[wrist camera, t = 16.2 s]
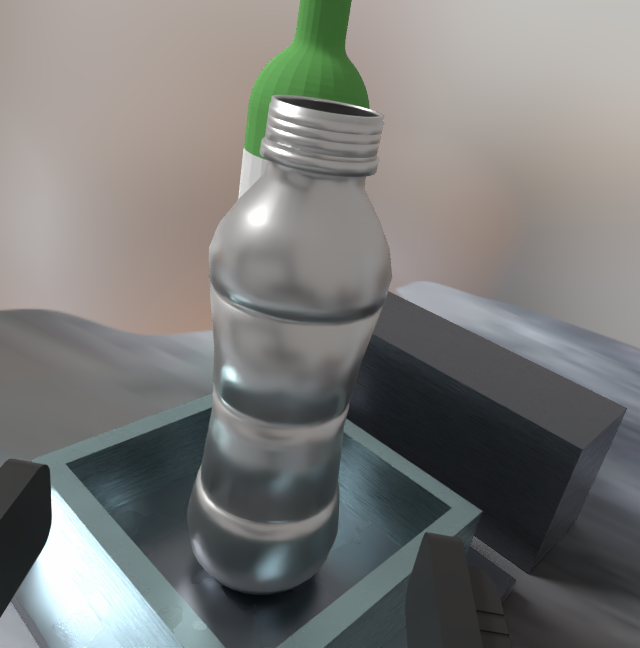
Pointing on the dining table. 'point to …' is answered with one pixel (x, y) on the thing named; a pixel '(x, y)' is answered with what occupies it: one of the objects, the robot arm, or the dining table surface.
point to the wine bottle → (303, 75)
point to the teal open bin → (354, 507)
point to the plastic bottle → (288, 345)
